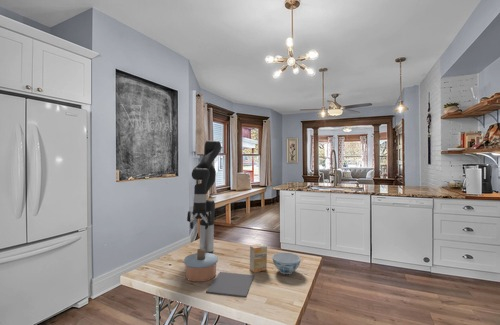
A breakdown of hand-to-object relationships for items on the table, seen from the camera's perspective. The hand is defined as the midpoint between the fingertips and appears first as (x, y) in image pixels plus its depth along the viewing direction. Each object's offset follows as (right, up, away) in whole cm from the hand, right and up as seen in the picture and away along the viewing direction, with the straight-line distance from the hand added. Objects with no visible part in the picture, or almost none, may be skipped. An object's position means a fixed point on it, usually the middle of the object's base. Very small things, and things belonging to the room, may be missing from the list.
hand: (199, 228), depth 144 cm
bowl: (+5, -18, -20) cm, 27 cm away
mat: (+22, -18, -29) cm, 41 cm away
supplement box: (+35, -19, -13) cm, 42 cm away
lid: (+5, -11, -20) cm, 23 cm away
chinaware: (+50, -19, -15) cm, 55 cm away
